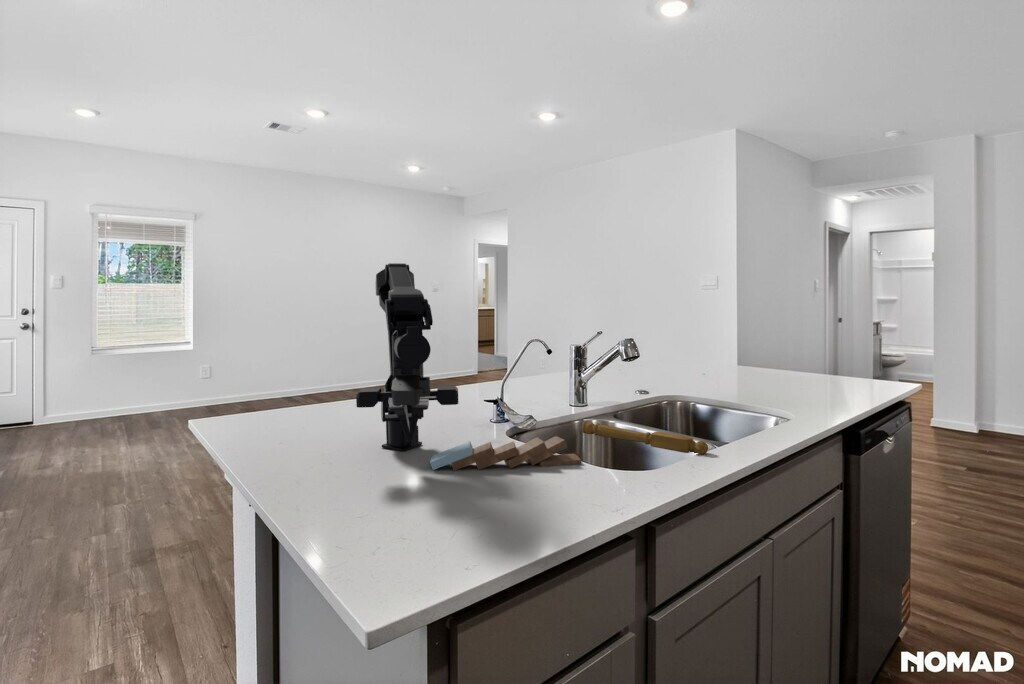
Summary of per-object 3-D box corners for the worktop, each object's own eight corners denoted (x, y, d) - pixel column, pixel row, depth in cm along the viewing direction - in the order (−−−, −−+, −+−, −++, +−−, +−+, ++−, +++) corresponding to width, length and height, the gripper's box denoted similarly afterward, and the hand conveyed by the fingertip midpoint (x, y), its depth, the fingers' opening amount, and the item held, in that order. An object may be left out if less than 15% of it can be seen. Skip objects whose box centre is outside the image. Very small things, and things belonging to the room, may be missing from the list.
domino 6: (540, 462, 108) (581, 459, 109) (536, 456, 112) (574, 453, 113) (541, 470, 108) (581, 467, 109) (536, 463, 112) (574, 461, 114)
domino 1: (429, 462, 106) (469, 447, 106) (432, 455, 110) (470, 441, 110) (433, 470, 106) (472, 454, 106) (435, 463, 110) (473, 448, 110)
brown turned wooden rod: (588, 420, 136) (710, 439, 116) (588, 432, 136) (710, 454, 116) (580, 422, 133) (704, 442, 114) (581, 435, 133) (704, 457, 114)
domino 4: (507, 461, 106) (544, 442, 108) (501, 455, 110) (537, 437, 112) (510, 468, 107) (547, 449, 108) (505, 462, 111) (540, 444, 112)
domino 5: (529, 458, 108) (564, 439, 110) (521, 453, 112) (555, 436, 114) (532, 465, 108) (567, 447, 110) (524, 460, 112) (558, 443, 114)
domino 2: (451, 463, 106) (490, 447, 106) (452, 456, 110) (490, 441, 110) (454, 470, 106) (493, 455, 106) (455, 463, 110) (493, 449, 111)
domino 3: (475, 462, 106) (514, 447, 106) (475, 455, 111) (513, 441, 111) (478, 470, 106) (517, 454, 106) (478, 463, 111) (516, 448, 111)
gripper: (349, 366, 97) (352, 454, 98) (458, 364, 99) (459, 450, 100) (359, 358, 108) (362, 438, 109) (457, 356, 110) (458, 434, 111)
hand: (409, 440), depth 107 cm, fingers closed
